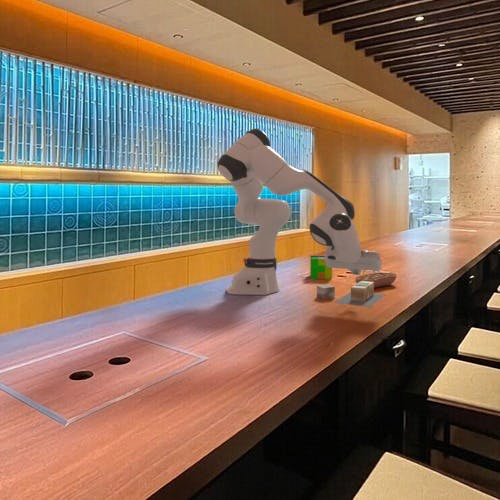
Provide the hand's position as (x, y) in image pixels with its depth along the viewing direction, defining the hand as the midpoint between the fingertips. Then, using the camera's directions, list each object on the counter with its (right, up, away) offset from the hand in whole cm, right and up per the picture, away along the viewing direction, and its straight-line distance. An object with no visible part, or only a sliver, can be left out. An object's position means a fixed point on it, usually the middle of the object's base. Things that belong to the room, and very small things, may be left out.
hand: (356, 273), depth 176 cm
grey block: (-10, -11, +8) cm, 17 cm away
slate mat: (+3, -11, +6) cm, 12 cm away
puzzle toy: (-5, -5, +53) cm, 54 cm away
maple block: (+1, -8, +2) cm, 8 cm away
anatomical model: (+15, -8, +29) cm, 34 cm away
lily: (+21, -4, +60) cm, 63 cm away
